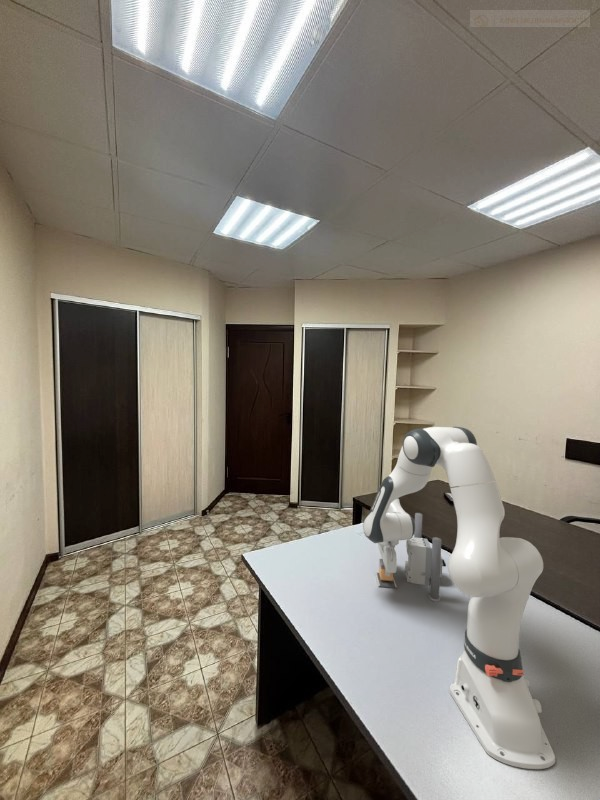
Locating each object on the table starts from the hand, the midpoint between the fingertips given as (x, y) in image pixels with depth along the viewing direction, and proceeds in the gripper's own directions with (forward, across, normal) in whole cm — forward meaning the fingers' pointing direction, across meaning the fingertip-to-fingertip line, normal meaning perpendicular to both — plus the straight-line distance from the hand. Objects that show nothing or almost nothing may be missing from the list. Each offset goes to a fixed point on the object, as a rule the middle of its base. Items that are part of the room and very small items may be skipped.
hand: (386, 570), depth 127 cm
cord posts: (+4, +3, -16) cm, 17 cm away
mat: (+4, 0, 0) cm, 4 cm away
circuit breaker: (+4, +3, -16) cm, 17 cm away
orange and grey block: (+2, 0, 0) cm, 2 cm away
